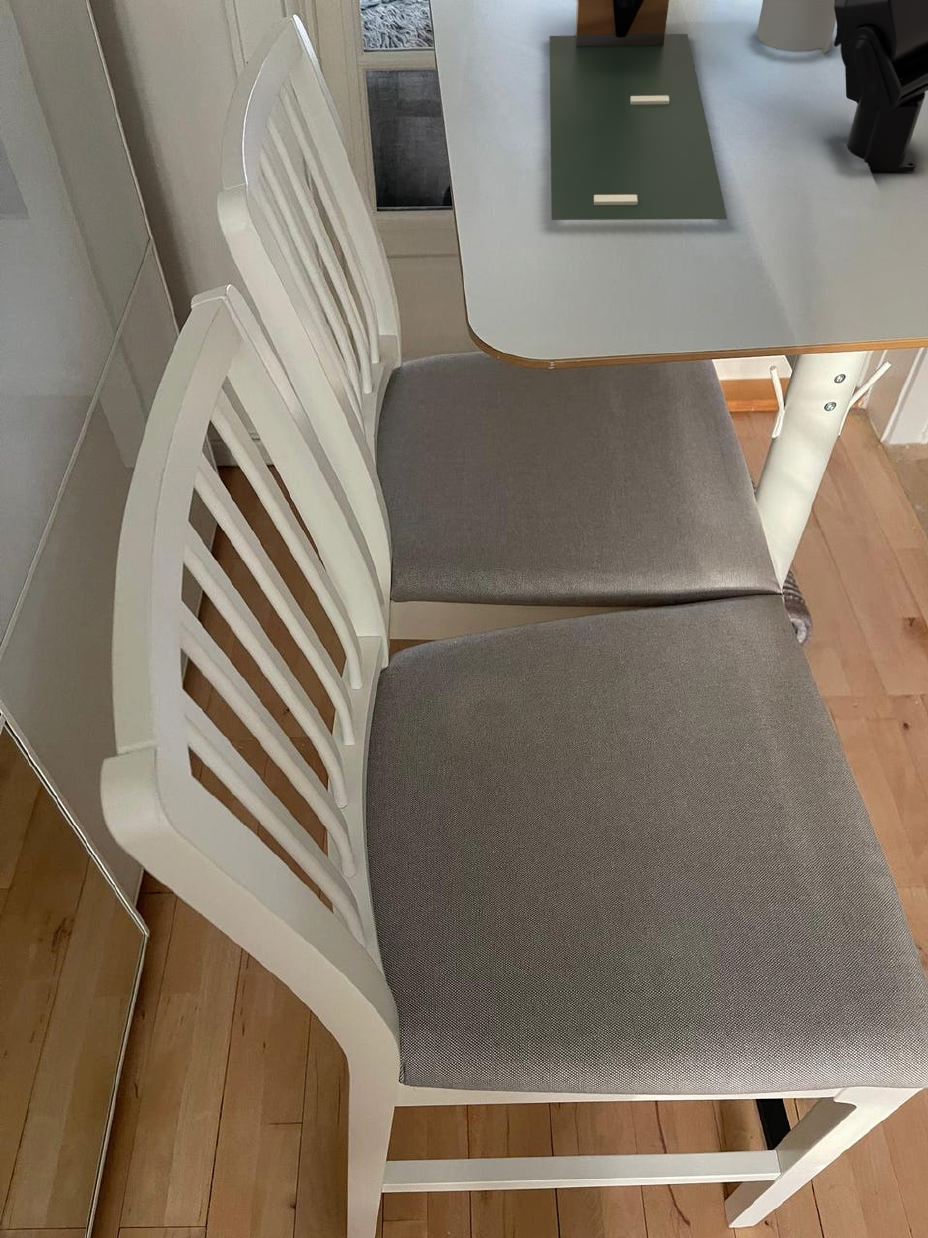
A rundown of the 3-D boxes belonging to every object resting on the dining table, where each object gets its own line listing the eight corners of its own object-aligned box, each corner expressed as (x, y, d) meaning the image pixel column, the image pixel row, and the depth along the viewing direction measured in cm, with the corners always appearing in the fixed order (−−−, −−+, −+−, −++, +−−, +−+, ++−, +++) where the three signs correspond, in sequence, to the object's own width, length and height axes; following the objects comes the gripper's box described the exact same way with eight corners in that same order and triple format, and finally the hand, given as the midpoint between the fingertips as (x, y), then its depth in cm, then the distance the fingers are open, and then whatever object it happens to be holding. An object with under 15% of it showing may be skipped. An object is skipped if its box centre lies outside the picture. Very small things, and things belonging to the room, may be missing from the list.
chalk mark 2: (669, 104, 103) (669, 100, 103) (630, 104, 104) (631, 100, 103) (668, 98, 104) (668, 95, 104) (630, 99, 104) (630, 95, 104)
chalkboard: (725, 228, 90) (727, 218, 89) (550, 229, 91) (551, 219, 90) (686, 42, 115) (687, 33, 114) (549, 44, 116) (549, 35, 115)
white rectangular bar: (637, 205, 91) (637, 201, 91) (594, 205, 92) (594, 201, 91) (636, 198, 92) (637, 194, 92) (593, 198, 92) (594, 194, 92)
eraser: (663, 45, 112) (669, -4, 108) (575, 46, 113) (578, -2, 109) (661, 30, 115) (666, -18, 111) (575, 31, 115) (577, -17, 111)
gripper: (554, -163, 107) (549, -3, 119) (555, -105, 95) (549, 65, 108) (657, -166, 106) (641, -5, 119) (671, -107, 95) (652, 64, 107)
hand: (619, 28), depth 113 cm, fingers closed on eraser, 4 cm apart
